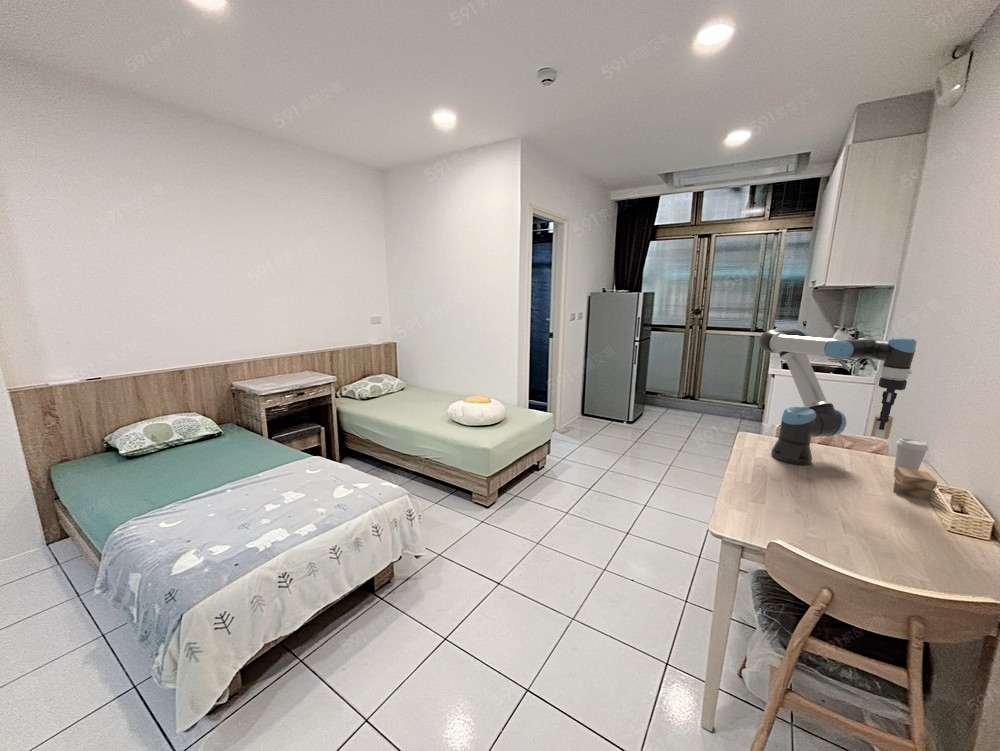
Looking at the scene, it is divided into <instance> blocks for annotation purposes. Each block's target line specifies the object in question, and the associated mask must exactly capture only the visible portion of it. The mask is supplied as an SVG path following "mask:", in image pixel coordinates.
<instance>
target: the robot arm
mask: <svg viewBox="0 0 1000 751" xmlns="http://www.w3.org/2000/svg"><path fill="white" fill-rule="evenodd" d="M758 345H759V347H760V349H761V350H762V351H764V352H767V353H770V354H774V353H775V354H779V357H780V359H781V360H783V361H785V362H786V365H787V367H788V369H789V372H790V374H791V377H792V380H793V381H794V384H795V386H796V389H797V391H798V394H799V397H800V399H801V401H802V404H803V406H801V407H800V406H791V407H787V408H786V409H784V410H783V412H782V416H781V423H780V429H779V434H778V435H779V436H778V439H777V440H776V442H775V444H774V445H773V447H772V449H771V451H770V452H771V453H770V455H771V456H772V457H773V458H774V459H776V460H778V461H780V462H783V463H787V464H790V465H797V466H808V465H812V461H813V455H812V450H811V445H810V444H811V442H812V438H814V437H833V436H838V435H841V434H842V433H843V432H844V431H845V428H846V427H847V418H846V415H845V414H844V413H843V412H842V411H840V410H838V409H836V408H835V407H834V404H833V403H832V402H829V401H827V398H826V396H825V394H824V391H823V389H822V387H821V385H820V383H819V382H820V381H819V380H818V378H817V375H816V373H815V371H814V369H813V366H812V364H811V361H810V359H809V357H808V355H810V356H811V355H813V356H820V357H828V358H831V359H833V360H845V359H846V360H847V359H849V360H850V359H872V360H878V361H883V364H882V367H881V372H880V376H881V377H879V381H878V387H879V388H881V389H886V390H884V391H883V392H882V395H881V396H882V400H881V404H882V407H881V411H880V412H879V413H880V414H879V415H880V418H879V419H876V421H878V424H877V428H876V432H875V437H874V438H879V437H880V439H884V436H885V432H886V428H887V424H888V418H889V416H890V414H891V410H892V406H894V403H895V400H896V398H897V397H898V396H897V395H898V393H897V392H895V391H905V390H906V388H907V384H908V378H909V375H911V374H913V372H912V371H910V370H911V366H912V363H913V359H914V357H915V353H916V352H917V351H916V348H917V340H916V339H914V338H911V337H910V338H909V337H899V336H896V337H894V336H893V337H890V338H889V339H888V341H886V340H879V339H872V338H863V337H861V338H858V339H841V338H828V337H813V336H810V335H809V334H808V333H807V332H806V331H804V330H803V329H796V328H789V329H788V328H787V329H783V328H782V329H778V328H777V329H775V328H774V329H769V330H766V331H764V332H763V333H762V334H761V335H760V337H759V340H758Z"/></svg>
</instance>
